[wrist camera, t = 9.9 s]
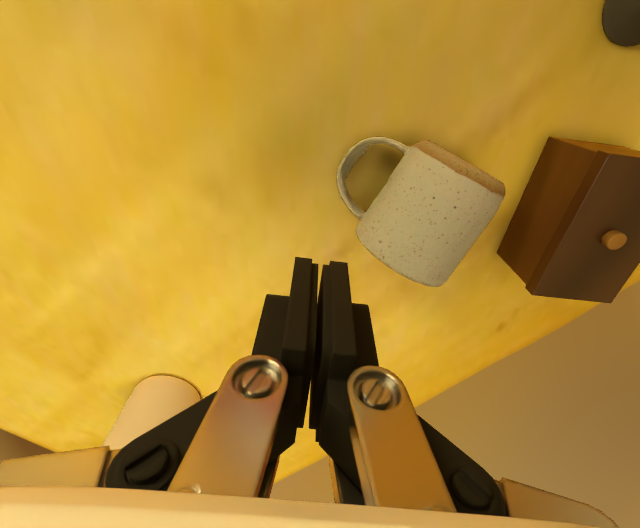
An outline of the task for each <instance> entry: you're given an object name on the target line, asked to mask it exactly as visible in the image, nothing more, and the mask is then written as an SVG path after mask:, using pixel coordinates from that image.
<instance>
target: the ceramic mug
mask: <svg viewBox="0 0 640 528" xmlns="http://www.w3.org/2000/svg"><path fill="white" fill-rule="evenodd" d="M381 143H384V144H387V145H390V146H393V147H396V148H397V149H399V150H401V151H402V152H403V153H404V156H403V158H402V159H401V160H400V162H399V164H398V165H397V167H396V168H395V170H394V171H393V173H392V174H391V175H390V177H389V180H388V181H387V183H386V184H385V186H384V187H383V188H382V190H381V191H380V193H379V194H378V195H377V197H376V198H375V200H374V201H373V202H372V204H371V206H370V207H369V208H368V210H367V211H366V212H364V211H363V210H362V209H361V208H359V207H358V205H357V204H356V203H355V202H354V201H353V199H352V198H351V196H350V195H349V192H348V190H347V187H346V178H347V173H348V172H349V171H350V169H351V168H352V166H353V165H354V163H355V162H356V160H357V159H358V158H359V157H360V156H361V155H364V154H365V152H366V149H367V148H368V147H369V146H370V145H372V144H381ZM337 186H338V190H339V193H340V195H341V198H342V200H343V201H344V203H345V204H346V206H347V207H348V208H349V210H350V211H351V212H352V213H353V214H354V215H355V216H356V217H357V218H359V219H360V222H359V224H358V225H357V228H356V234H357V236H358V238H359V240H360V242H361V243H362V244H363V245H364V246H365V247H366V248H367V250H368V251H370V252H371V253H372V254H373V255H374V256H375V257H376V258H377V259H379V260H380V261H381V262H383V263H384V264H386V265H387V266H388V267H389V268H391V269H393V270H394V271H396V272H397V273H399V274H401V275H403V276H404V277H406V278H408V279H410V280H412V281H415V282H418V283H421V284H423V285H426V286H430V287H439V286H441V285H443V284H444V283H445V282H446V281H447V280H448V278H449V277H450V275H451V274H452V272H453V271H454V270H455V268H456V267H457V266H458V264H459V263H460V262H461V260H462V259H463V258H464V256H465V255H466V253H467V252H468V251H469V249H470V248H471V246H472V245H473V244H474V242H475V241H476V239H477V238H478V237H479V235H480V234H481V232H482V231H483V230H484V229H485V227H486V226H487V225H488V223H489V222H490V221H491V219H492V218H493V216H494V215H495V213H496V212H497V210H498V208H499V206H500V204H501V202H502V200H503V198H504V196H505V186H504V184H503V183H502V182H500V181H499V180H497V179H495V178H494V177H492V176H490V175H489V174H487V173H485V172H484V171H482V170H480V169H478V168H477V167H475V166H473V165H471V164H469V163H468V162H466V161H464V160H462V159H461V158H459V157H457V156H456V155H454V154H452V153H450V152H449V151H447V150H445V149H443V148H441V147H440V146H438V145H436V144H435V143H433V142H431V141H429V140H422V141H419V142H417V143H416V144H414V145H413V146H412V147H408V146H406V145H404V144H403V143H401V142H399V141H396V140H393V139H390V138H386V137H370V138H367V139H364V140H362V141H360V142H358V143H356V144H355V145H354V146H353V147H352V148H350V150H349V151H348V152H347V153H346V155H345V156H344V158H343V159H342V161H341V163H340V165H339V168H338V171H337Z"/></svg>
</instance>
